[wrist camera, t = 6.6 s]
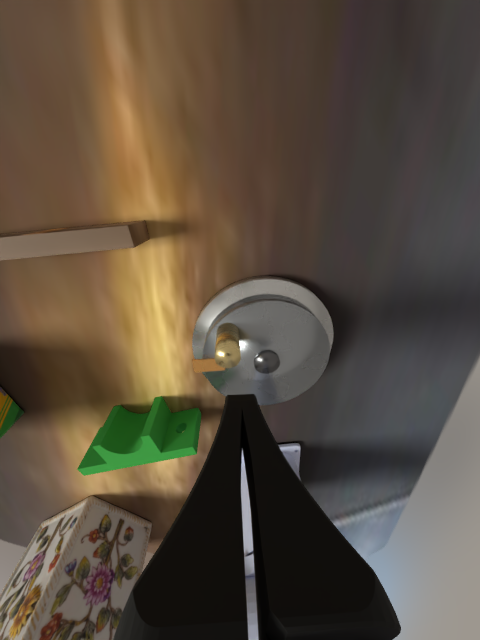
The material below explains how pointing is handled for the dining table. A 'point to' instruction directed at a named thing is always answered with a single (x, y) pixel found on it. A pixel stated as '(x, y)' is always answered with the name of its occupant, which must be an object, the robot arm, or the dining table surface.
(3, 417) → the chalk box
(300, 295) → the base plate
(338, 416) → the dining table surface
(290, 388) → the index disc
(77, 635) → the decorative jar
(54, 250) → the bar
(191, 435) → the pipe clamp
